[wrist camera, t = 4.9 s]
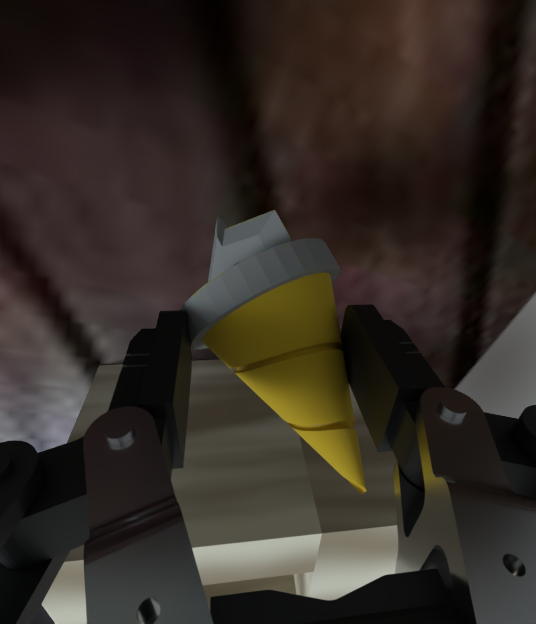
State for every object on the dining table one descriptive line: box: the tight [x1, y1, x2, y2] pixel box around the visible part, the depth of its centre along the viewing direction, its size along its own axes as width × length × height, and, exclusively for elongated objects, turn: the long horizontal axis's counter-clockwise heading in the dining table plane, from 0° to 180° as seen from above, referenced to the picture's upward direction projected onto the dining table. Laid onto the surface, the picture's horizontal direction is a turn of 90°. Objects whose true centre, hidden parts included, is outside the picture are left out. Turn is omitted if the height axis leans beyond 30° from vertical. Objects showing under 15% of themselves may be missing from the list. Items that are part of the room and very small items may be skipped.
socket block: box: [42, 359, 398, 624], centre depth 22 cm, size 13×17×11 cm
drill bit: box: [181, 210, 366, 494], centre depth 11 cm, size 5×5×10 cm
